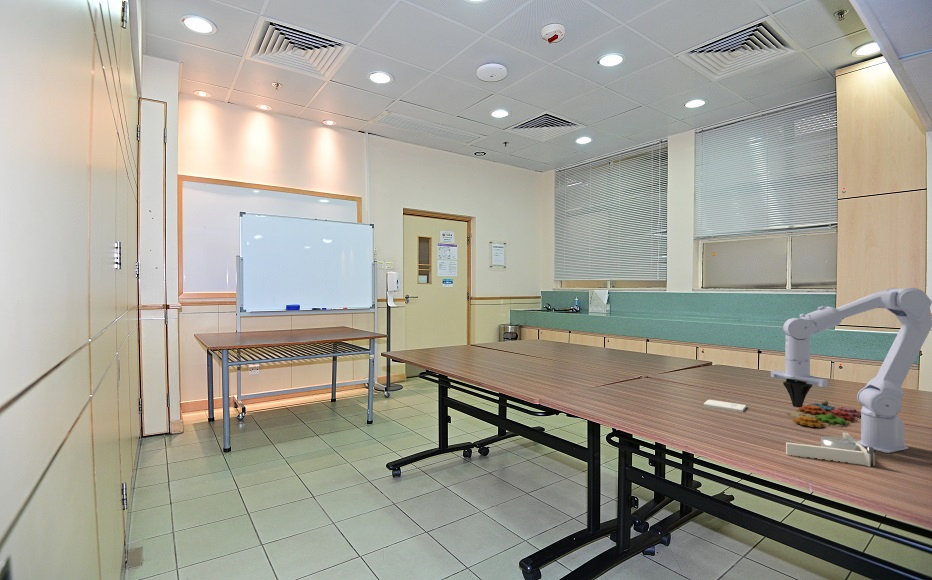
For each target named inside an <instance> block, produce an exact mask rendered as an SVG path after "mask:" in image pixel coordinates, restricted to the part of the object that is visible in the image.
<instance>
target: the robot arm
mask: <svg viewBox="0 0 932 580" xmlns="http://www.w3.org/2000/svg"><path fill="white" fill-rule="evenodd" d="M931 306H932V299H931V298H930V297H929V296H928V294H927V293H925V291H924V290H922V289H919V288H915V287H907V288H905V287H904V288H902V287H901V288H899V287H890V288H888V289H885V290H880V291H876V292H873V293H870V294H868V295H866V296H865V295H864V296H863V297H861V298H858V299H856V300H854V301H850V302H848V303H845V304H843V305H841V306H839V307H836V308H835V307H832V306H828V305H827V306H823V305H821V306H818V307H817V310H814V311H811V312H808V313H806V314H805V313H801V314H799V318H797V317H792V318H789V319H787V320H786V321H785V322H784V324H783V326H782V328H781V329H782V332H783V334H784V335H785V344H784V346H785V347H784V348H785V350H784V351H785V352H784V353H785V355H784V356H785V357H784V358H785V359H784V360H785V371H784V370H783V371H782V370H775V369H774V370H770V378H773V379H775V378H777V379H780V380H781V379H782V380H785V381H783V382H782V385H783V386H784V387H785V389H786V391H787V393H788V395H789V397H790V400H791V403H792V407H794V408H799V407H804V402H805V398H806V397H807V395H808V393H809V391H810V390H811V389H812V387H813V386H818V387H821V388H826V387H828V379H827V378H826V379H825V378H822V377H817V376H813V375H811V344H810V340H811V339H810V338H811V337H812V336H813V334H817V333H821V332H823V331H825V330H828V329H831V328H834V327H837V326H840V325H841V324H842V322H843V319H846V318H848V317H852V316H855V315H858V314H862V313H864V312H865V313H866V312H868V311H871V310H875V309H886V310H888V311H889V312H890V313H892V314H893V315H895V317H896V318H897V320H898V321H899V322H900V325H901V327H900V329H899V331H898V333H897V335H896V336H895V338H894V340H893V342H892V345H891V346H890V348H889V350H888V352H887V354H886V356H885V358H884V360H883V362H882V364H881V366H880V368H879V370H878V371H877V374H876V376H874V377H873V378H871V379H870V380H869V381H868V382H867V384H865V386H864V387H863V388H861V389H860V390H859V391H858V392H857V395H856V400H857V402H858V404H859V405H860V406H861V409H860V412H861V417H860V440H856V441H857V442H858V443H859V444H860V445H862V446H863V447H864V448H867V447H873V448H874V451H878V452H882V453H885V454H889V453H890V454H891V453H895V452H900V451H904V450H908V449H909V448H910V447H909V446H907V445H905V423H904V422H903V420H902V418H900V417H899V416H898V415H899V414H900V413H901V411H902V408H903V406H902V405H903V404H902V400H903V397H904V391H903V388H902V385H903V383H904V382H905V379H906V378H907V375H908V374H909V372H910V370H911V367H913V364H914V363H915V360H916V359H917V356H918V355H919V353H920V352H921V349H922V347H923V345H924V343H925V341H926V340H927V338H928V335H929V333H930V332H931V330H932V311H931Z"/></svg>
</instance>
